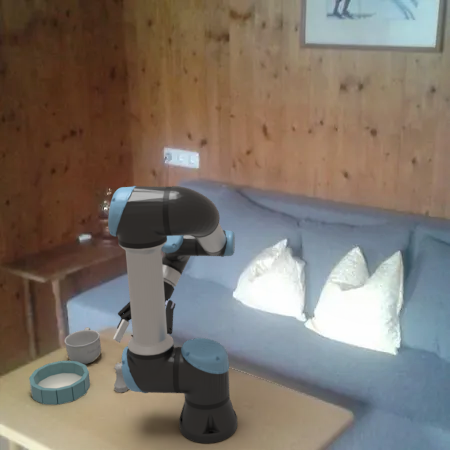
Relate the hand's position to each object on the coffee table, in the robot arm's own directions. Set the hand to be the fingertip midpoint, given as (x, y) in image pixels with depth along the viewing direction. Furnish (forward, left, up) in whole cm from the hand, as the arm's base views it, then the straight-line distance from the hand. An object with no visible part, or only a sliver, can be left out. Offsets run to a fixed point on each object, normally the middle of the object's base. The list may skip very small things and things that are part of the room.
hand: (132, 347), depth 194 cm
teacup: (+22, -1, -11) cm, 25 cm away
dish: (+14, +16, -11) cm, 24 cm away
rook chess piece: (-1, +6, -11) cm, 12 cm away
